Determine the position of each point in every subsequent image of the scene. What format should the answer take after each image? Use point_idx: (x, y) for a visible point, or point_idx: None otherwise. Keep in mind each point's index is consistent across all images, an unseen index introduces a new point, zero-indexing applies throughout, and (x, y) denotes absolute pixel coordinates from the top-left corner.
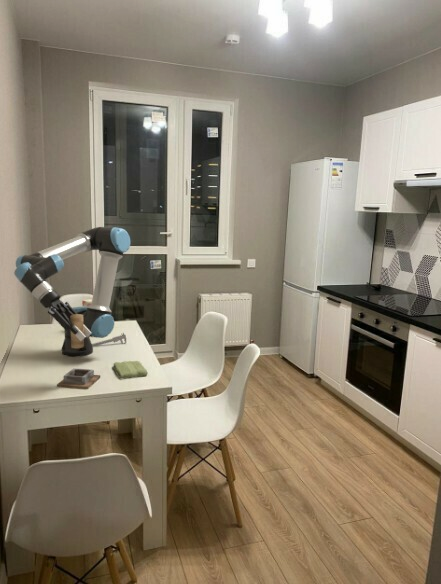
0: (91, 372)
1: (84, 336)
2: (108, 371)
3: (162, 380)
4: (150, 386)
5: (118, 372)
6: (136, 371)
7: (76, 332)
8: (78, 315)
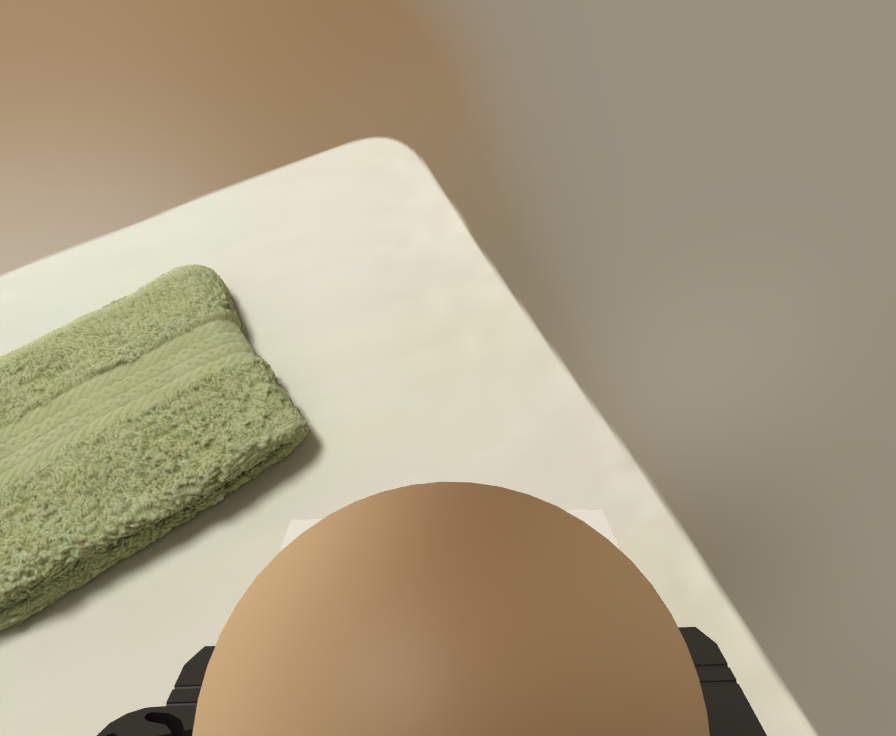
0: None
1: (604, 520)
2: (122, 629)
3: (291, 169)
4: (416, 207)
5: (235, 473)
6: (219, 326)
7: (702, 644)
8: (406, 664)
